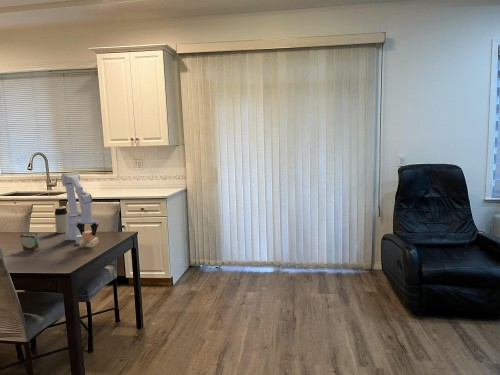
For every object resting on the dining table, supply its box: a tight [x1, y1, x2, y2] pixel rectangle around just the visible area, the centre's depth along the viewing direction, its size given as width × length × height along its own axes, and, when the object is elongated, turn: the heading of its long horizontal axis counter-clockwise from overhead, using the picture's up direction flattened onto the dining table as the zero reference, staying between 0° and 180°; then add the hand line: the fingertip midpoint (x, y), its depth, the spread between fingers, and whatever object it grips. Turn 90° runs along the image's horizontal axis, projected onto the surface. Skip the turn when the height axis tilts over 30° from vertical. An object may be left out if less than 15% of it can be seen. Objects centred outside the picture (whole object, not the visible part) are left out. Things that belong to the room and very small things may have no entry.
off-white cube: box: [75, 235, 83, 245], centre depth 231 cm, size 5×5×5 cm
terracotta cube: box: [82, 230, 96, 241], centre depth 225 cm, size 5×5×5 cm
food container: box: [19, 232, 40, 253], centre depth 219 cm, size 12×6×10 cm, turn 71°
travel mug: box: [54, 205, 68, 234], centre depth 260 cm, size 8×8×18 cm
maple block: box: [79, 237, 99, 248], centre depth 226 cm, size 8×8×4 cm
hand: (88, 235), depth 226 cm, fingers open, 7 cm apart
